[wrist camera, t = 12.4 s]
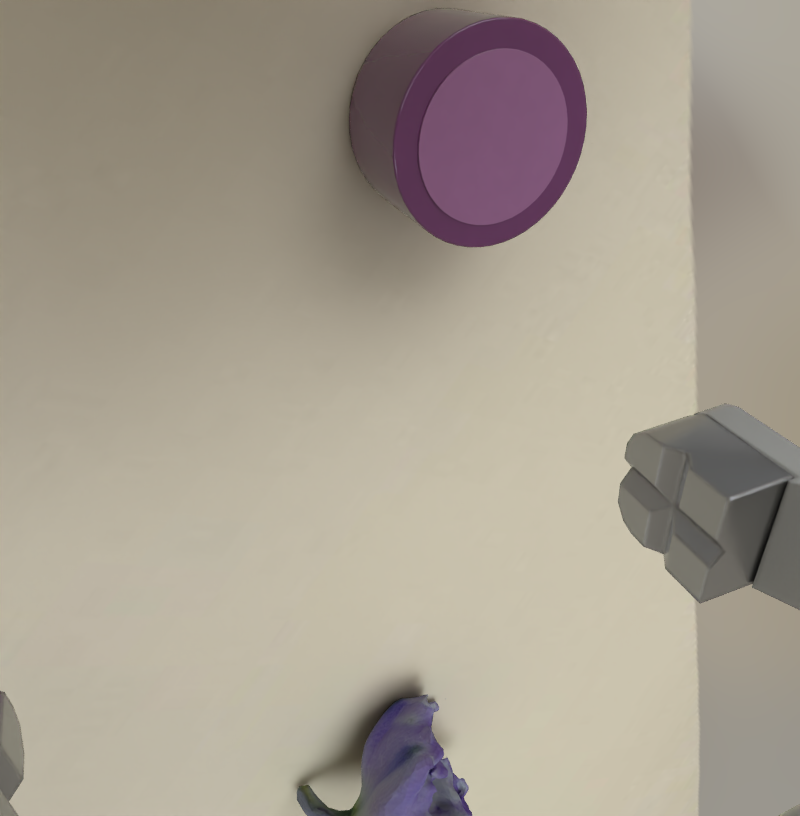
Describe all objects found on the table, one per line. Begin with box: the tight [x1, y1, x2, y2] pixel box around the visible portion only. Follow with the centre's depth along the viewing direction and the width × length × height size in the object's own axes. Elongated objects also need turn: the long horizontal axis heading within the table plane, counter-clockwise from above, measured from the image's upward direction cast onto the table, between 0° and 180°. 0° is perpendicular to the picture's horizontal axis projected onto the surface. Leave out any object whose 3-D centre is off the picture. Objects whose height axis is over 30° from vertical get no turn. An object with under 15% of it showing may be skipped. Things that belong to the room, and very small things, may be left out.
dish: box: [349, 8, 587, 247], centre depth 20 cm, size 6×6×4 cm
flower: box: [297, 695, 472, 816], centre depth 37 cm, size 9×9×10 cm
